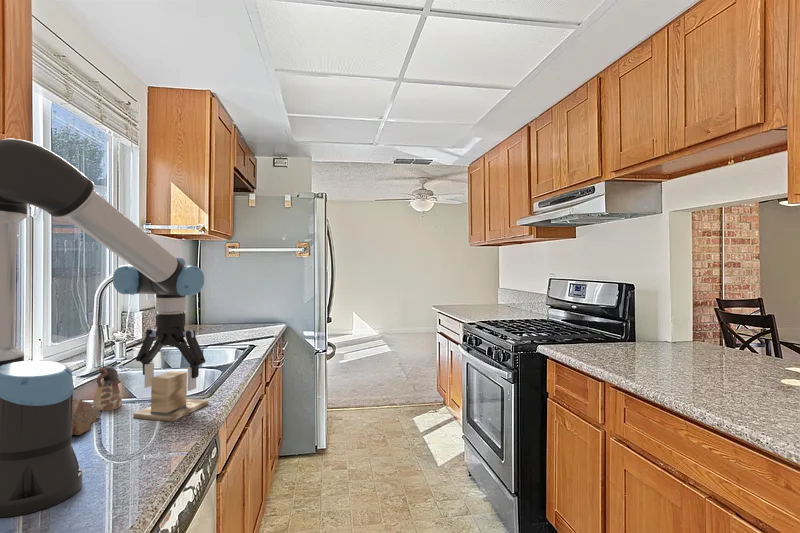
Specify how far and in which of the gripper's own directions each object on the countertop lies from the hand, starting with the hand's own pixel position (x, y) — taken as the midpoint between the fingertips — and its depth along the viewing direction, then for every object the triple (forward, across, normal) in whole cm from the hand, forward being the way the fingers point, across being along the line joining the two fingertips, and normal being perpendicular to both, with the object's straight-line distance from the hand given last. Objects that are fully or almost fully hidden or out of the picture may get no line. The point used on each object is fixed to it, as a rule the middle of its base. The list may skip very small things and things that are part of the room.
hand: (170, 388), depth 128 cm
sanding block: (+6, 0, 0) cm, 6 cm away
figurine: (+8, +22, -2) cm, 23 cm away
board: (+8, +2, -3) cm, 8 cm away
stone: (+8, +16, +15) cm, 23 cm away
